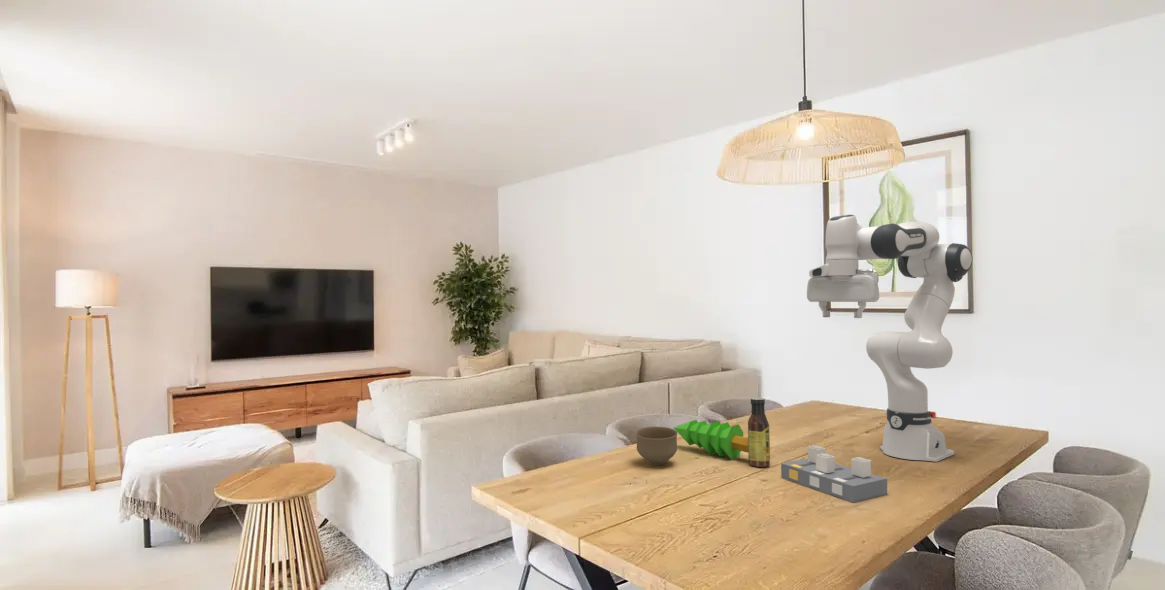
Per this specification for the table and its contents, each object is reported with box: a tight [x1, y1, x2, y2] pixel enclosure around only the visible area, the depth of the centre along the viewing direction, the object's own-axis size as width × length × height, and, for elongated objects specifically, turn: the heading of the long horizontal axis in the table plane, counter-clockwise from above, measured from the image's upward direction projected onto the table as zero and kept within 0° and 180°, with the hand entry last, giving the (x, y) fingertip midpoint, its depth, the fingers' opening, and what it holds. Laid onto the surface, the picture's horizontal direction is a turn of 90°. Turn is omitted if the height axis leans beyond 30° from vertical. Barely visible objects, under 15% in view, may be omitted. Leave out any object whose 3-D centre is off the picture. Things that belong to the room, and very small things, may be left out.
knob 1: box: [807, 444, 827, 463], centre depth 165 cm, size 3×4×4 cm
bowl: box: [635, 426, 679, 466], centre depth 179 cm, size 13×13×10 cm
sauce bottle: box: [747, 397, 771, 468], centre depth 177 cm, size 7×6×20 cm
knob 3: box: [850, 456, 872, 478], centre depth 153 cm, size 3×4×4 cm
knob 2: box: [816, 453, 836, 473], centre depth 157 cm, size 3×4×4 cm
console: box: [780, 457, 888, 504], centre depth 158 cm, size 13×23×4 cm, turn 28°
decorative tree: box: [672, 419, 748, 461], centre depth 191 cm, size 11×12×30 cm
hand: (841, 317), depth 172 cm, fingers open, 8 cm apart
